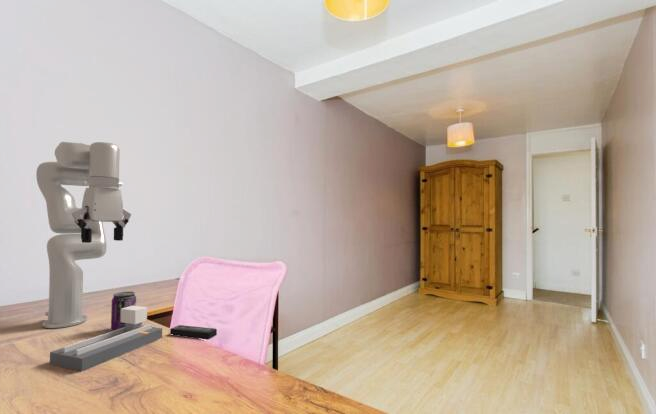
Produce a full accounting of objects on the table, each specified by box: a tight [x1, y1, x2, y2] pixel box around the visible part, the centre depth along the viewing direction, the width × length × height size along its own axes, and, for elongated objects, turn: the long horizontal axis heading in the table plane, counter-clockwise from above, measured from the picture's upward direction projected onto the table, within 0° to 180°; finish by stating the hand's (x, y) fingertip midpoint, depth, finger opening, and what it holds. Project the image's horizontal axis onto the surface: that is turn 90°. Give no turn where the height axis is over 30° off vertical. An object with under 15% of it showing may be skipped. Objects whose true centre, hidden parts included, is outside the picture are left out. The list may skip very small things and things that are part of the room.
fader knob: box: [121, 305, 148, 332], centre depth 101 cm, size 6×4×7 cm, turn 70°
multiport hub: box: [169, 324, 218, 340], centre depth 107 cm, size 4×14×2 cm, turn 74°
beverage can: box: [110, 291, 137, 331], centre depth 112 cm, size 7×7×12 cm
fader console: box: [49, 323, 163, 372], centre depth 95 cm, size 12×24×4 cm, turn 160°
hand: (103, 241), depth 100 cm, fingers open, 9 cm apart
